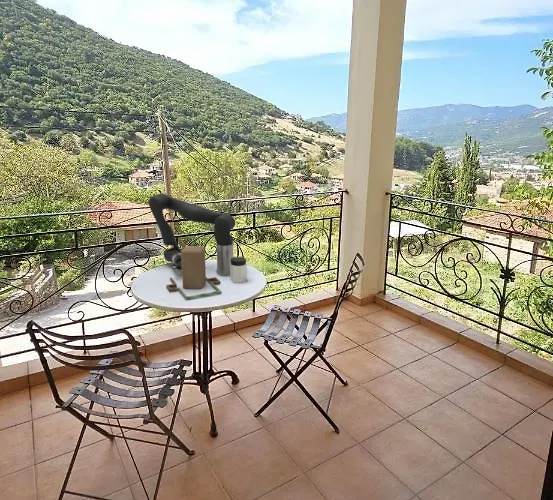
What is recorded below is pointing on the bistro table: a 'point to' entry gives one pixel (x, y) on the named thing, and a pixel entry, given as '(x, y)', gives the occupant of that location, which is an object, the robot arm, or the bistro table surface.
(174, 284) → the notched outline frame
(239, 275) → the jar
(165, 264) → the bistro table surface
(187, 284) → the block
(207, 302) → the bistro table surface
